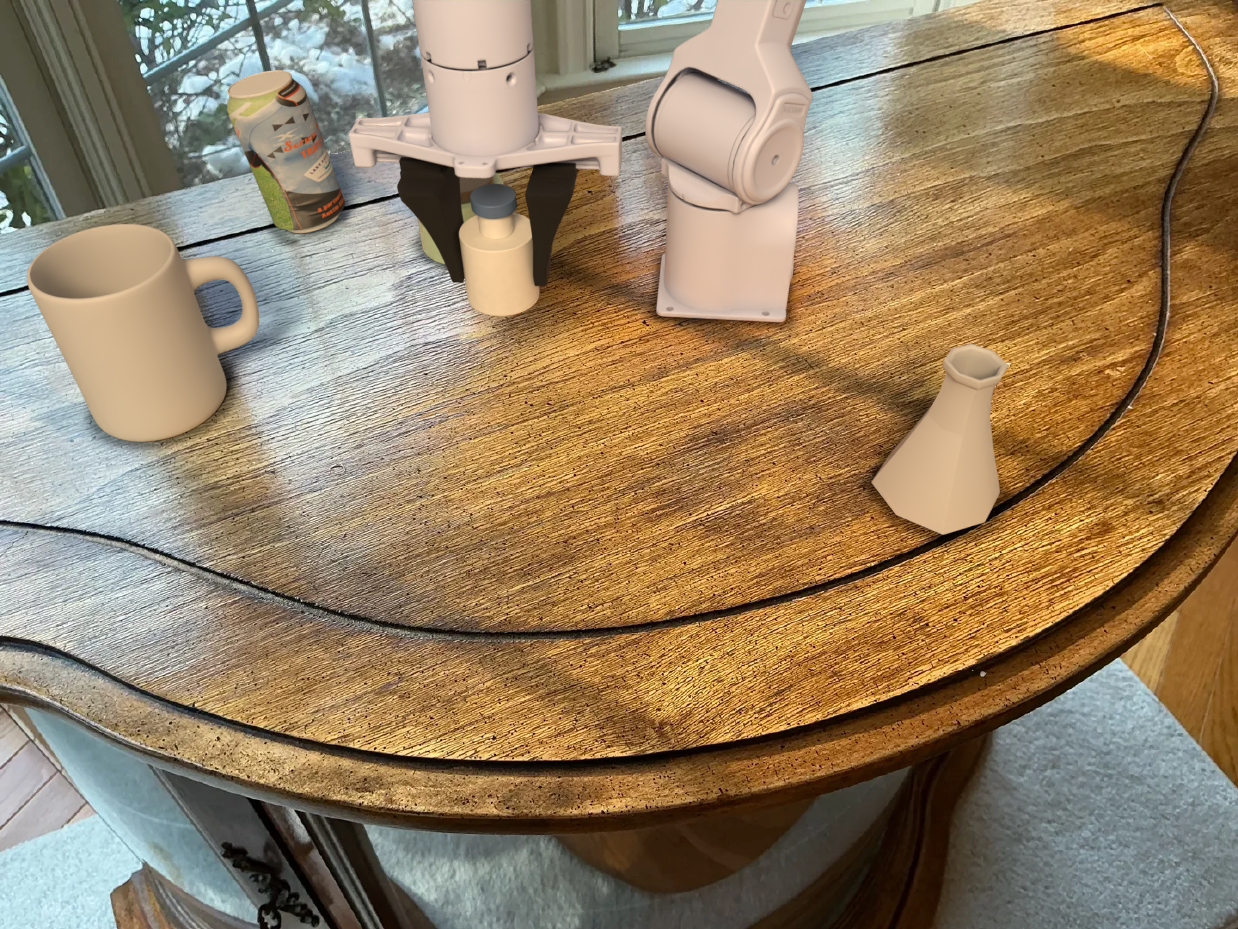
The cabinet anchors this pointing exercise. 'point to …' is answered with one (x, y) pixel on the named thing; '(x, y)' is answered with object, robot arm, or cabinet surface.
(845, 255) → the cabinet surface
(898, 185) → the cabinet surface
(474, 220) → the cream bottle
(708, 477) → the cabinet surface
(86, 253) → the mug
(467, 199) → the sage jar
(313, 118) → the beverage can
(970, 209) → the cabinet surface
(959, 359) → the flask
